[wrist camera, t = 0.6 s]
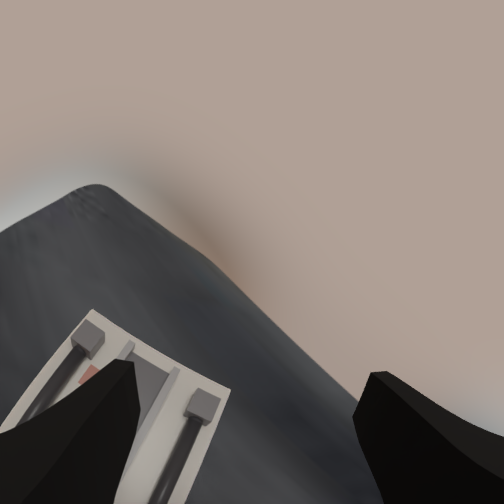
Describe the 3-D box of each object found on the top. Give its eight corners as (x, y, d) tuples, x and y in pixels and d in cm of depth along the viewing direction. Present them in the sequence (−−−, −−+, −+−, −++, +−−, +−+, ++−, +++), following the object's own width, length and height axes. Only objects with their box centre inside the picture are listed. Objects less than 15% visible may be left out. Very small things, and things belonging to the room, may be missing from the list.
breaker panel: (141, 585, 8) (146, 597, 6) (-24, 480, 8) (-40, 476, 6) (225, 395, 24) (237, 383, 22) (92, 317, 24) (92, 298, 22)
